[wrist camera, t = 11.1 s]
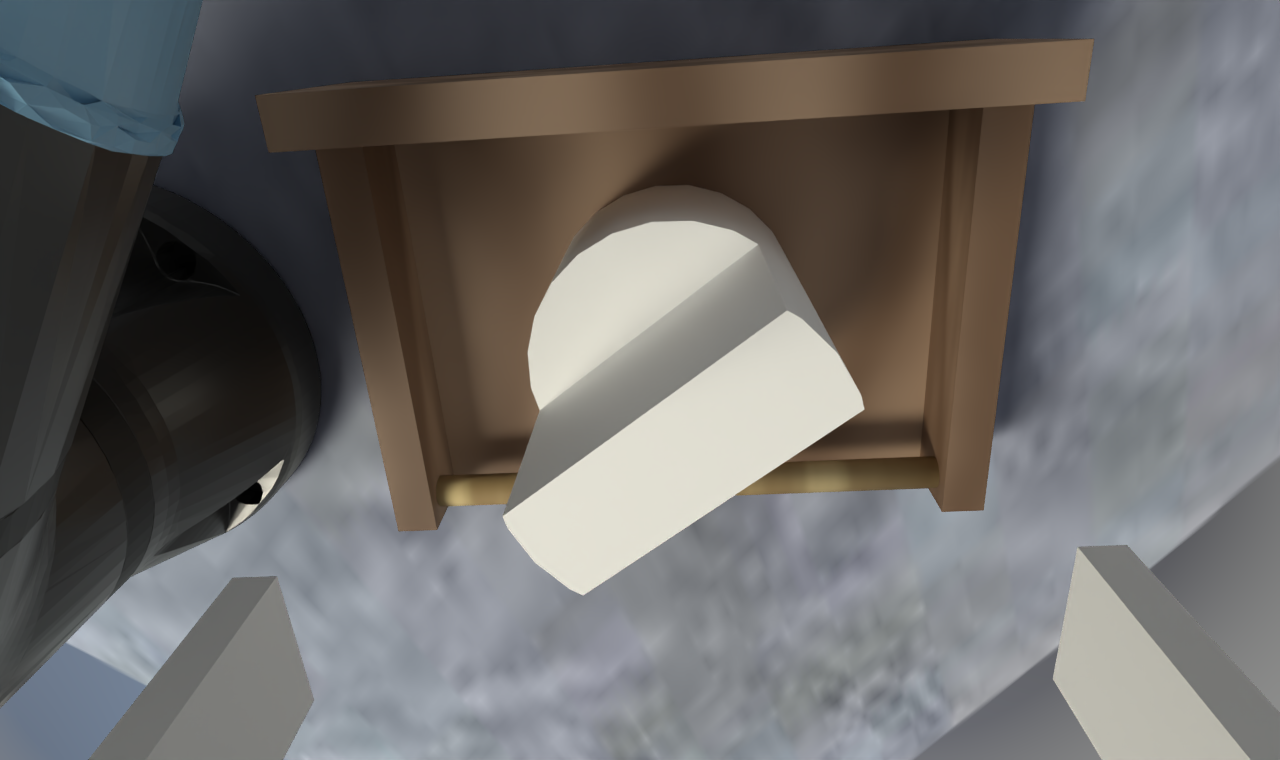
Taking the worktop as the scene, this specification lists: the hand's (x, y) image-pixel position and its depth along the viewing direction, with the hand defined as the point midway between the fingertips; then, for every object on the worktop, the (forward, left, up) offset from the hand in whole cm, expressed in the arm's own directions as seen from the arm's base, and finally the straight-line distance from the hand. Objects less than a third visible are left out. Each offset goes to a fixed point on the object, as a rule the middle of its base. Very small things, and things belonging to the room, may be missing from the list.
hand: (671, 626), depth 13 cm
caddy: (0, 0, -19) cm, 19 cm away
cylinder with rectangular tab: (0, 0, -18) cm, 18 cm away
